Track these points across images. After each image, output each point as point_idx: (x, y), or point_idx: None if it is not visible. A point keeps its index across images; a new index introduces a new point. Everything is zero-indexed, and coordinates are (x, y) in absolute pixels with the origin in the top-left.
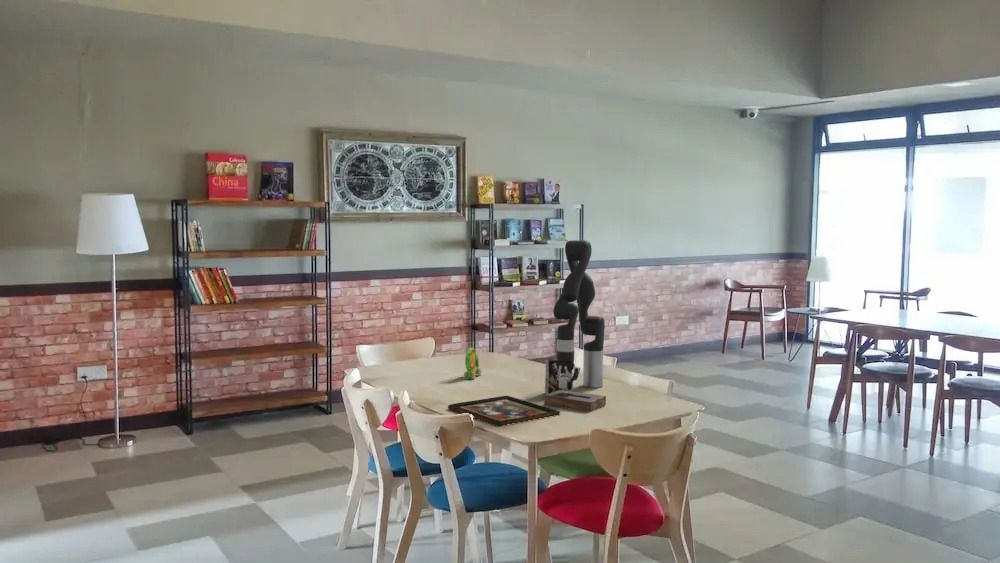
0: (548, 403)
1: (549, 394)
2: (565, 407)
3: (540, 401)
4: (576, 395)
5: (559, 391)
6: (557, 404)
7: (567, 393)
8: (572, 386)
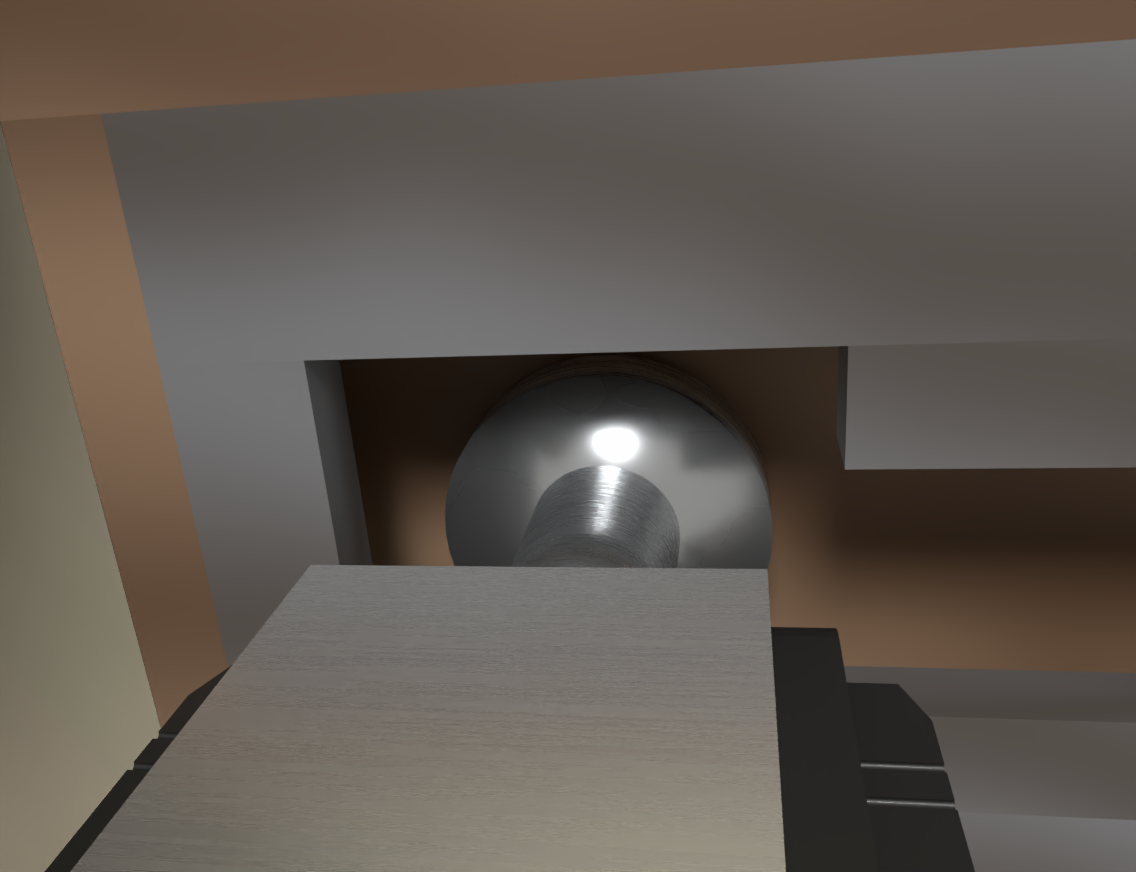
0: None
1: None
2: None
3: (49, 588)
4: (1021, 463)
5: (156, 303)
6: None
7: (541, 350)
8: (945, 786)
